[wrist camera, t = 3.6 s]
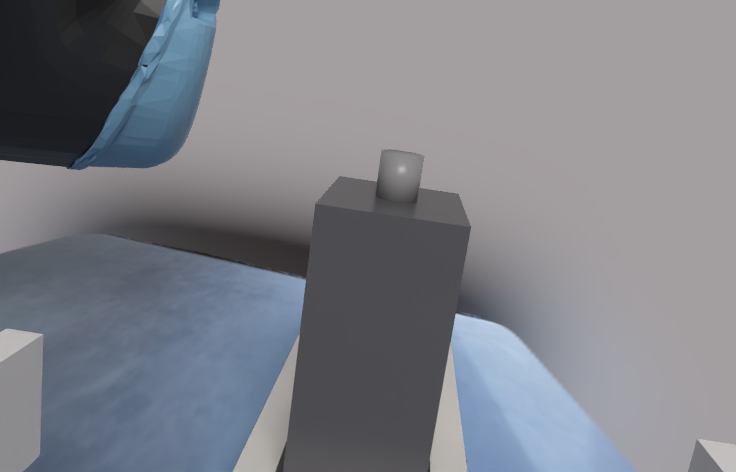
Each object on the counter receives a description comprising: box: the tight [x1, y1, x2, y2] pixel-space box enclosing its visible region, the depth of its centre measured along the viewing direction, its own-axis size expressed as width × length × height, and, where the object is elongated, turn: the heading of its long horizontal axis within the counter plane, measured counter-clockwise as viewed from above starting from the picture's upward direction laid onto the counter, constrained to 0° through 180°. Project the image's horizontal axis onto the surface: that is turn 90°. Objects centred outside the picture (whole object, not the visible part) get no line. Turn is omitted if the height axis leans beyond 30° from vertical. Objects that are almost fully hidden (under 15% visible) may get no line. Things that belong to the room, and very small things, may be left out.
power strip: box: [233, 333, 467, 472], centre depth 31 cm, size 26×8×3 cm, turn 176°
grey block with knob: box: [283, 150, 471, 472], centre depth 23 cm, size 6×4×12 cm
